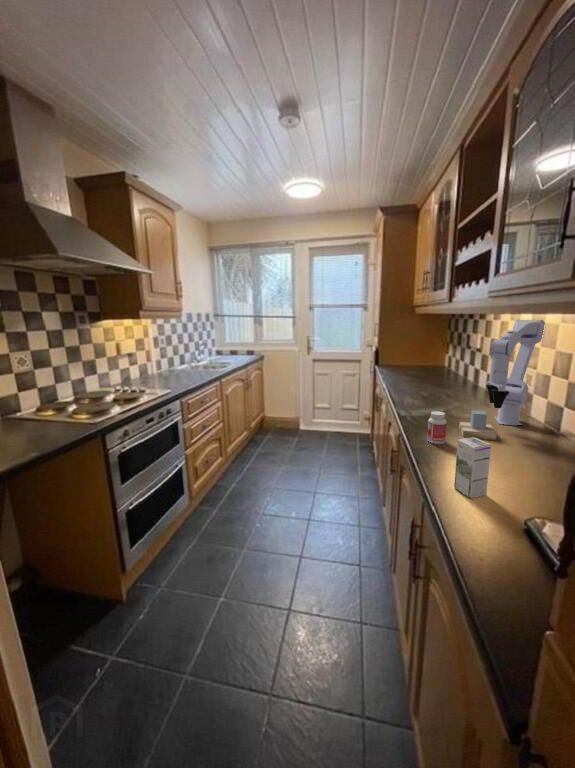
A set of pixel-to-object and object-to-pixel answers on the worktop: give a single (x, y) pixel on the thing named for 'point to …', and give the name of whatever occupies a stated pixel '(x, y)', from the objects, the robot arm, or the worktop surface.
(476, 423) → the blue block
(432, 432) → the pill bottle
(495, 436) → the birch base
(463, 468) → the syrup box
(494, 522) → the worktop surface
